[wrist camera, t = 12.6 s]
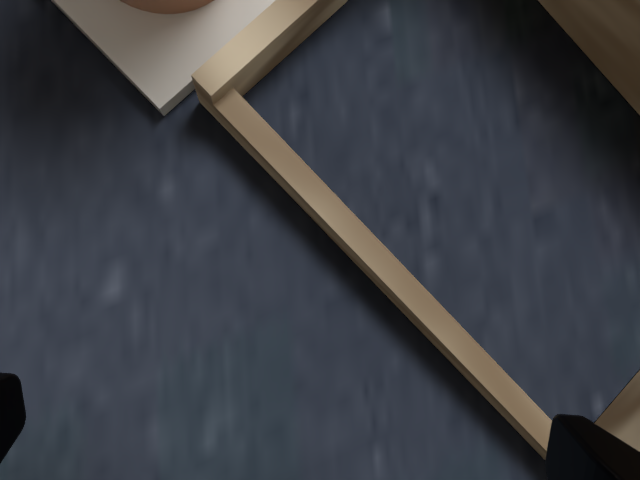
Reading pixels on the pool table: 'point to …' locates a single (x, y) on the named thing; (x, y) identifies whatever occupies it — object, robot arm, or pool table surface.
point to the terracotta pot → (167, 5)
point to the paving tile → (160, 41)
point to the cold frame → (356, 239)
